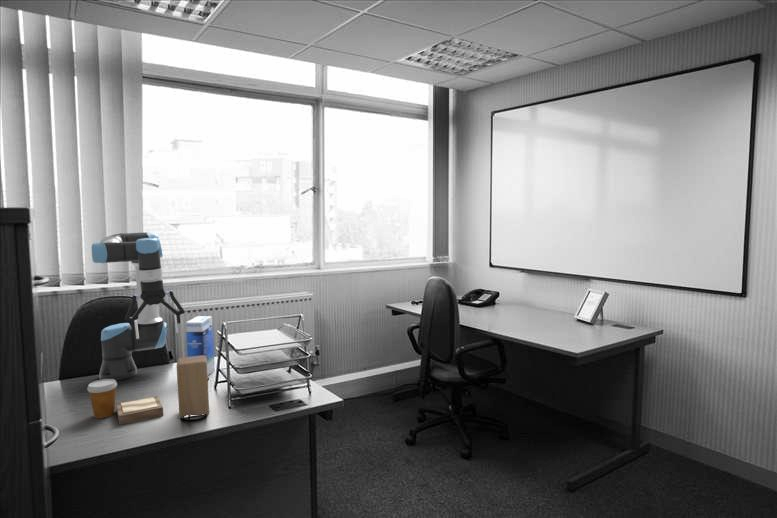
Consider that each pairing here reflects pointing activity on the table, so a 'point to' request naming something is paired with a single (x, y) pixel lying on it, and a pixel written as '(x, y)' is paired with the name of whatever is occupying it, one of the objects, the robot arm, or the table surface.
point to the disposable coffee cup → (102, 397)
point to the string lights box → (201, 339)
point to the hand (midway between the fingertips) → (157, 334)
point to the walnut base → (139, 409)
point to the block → (192, 385)
